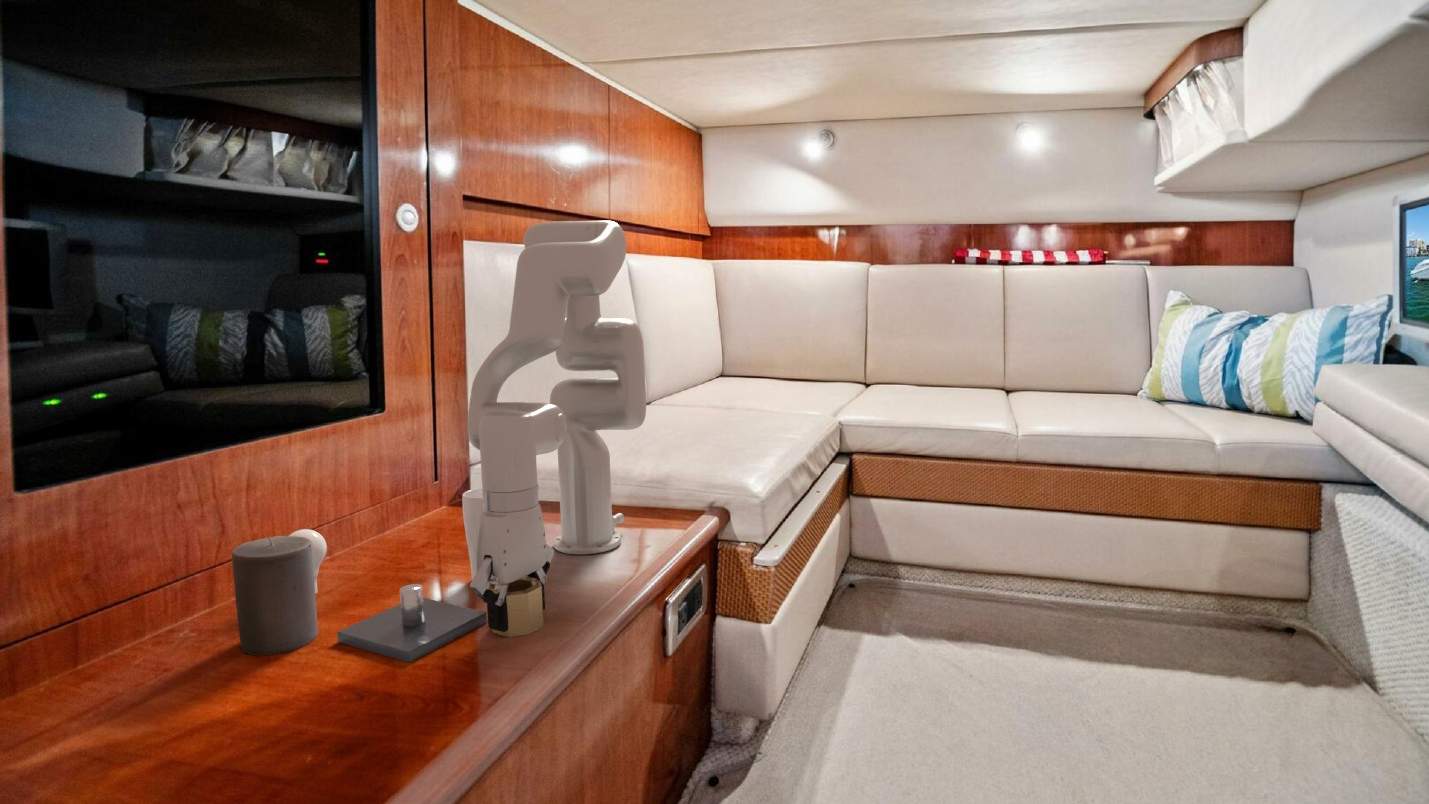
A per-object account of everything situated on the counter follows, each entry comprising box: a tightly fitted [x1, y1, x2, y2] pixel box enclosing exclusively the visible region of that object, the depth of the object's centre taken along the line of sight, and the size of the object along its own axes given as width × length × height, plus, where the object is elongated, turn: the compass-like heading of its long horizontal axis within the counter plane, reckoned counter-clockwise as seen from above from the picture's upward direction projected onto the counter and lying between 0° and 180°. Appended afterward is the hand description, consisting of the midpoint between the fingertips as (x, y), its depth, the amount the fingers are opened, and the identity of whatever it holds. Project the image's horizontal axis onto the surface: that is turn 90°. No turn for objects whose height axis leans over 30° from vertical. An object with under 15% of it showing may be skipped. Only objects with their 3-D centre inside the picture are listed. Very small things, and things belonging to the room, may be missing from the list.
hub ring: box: [492, 576, 544, 638], centre depth 113 cm, size 7×7×6 cm
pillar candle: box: [231, 535, 319, 656], centre depth 109 cm, size 10×10×15 cm
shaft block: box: [337, 583, 488, 663], centre depth 112 cm, size 14×14×6 cm
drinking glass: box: [461, 487, 498, 585], centre depth 131 cm, size 7×7×15 cm
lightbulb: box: [288, 528, 328, 595], centre depth 125 cm, size 6×6×11 cm
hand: (517, 618), depth 113 cm, fingers closed on hub ring, 7 cm apart
